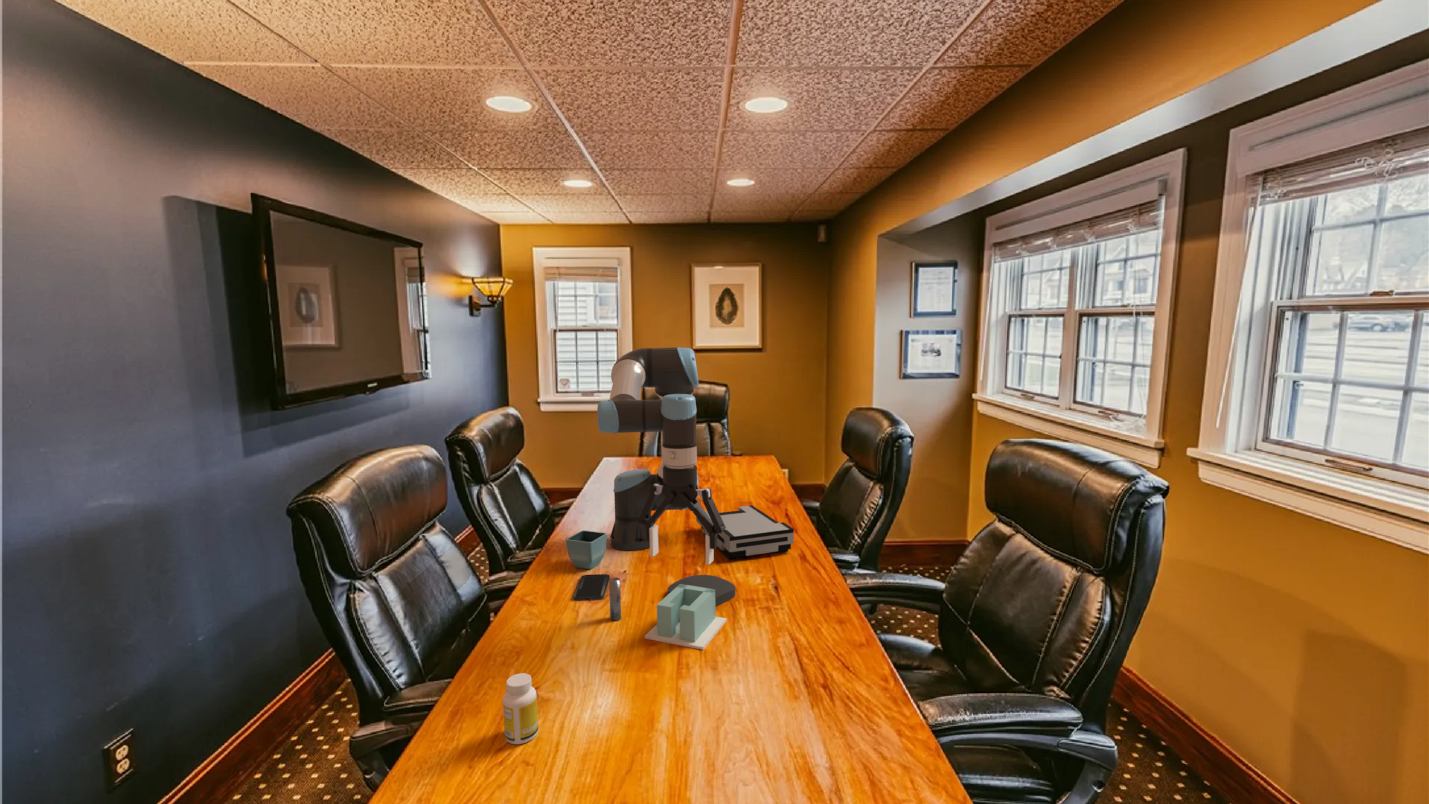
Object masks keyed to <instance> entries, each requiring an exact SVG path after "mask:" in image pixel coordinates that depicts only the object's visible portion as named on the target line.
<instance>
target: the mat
mask: <svg viewBox="0 0 1429 804" xmlns="http://www.w3.org/2000/svg"><path fill="white" fill-rule="evenodd" d="M727 620H728V618H725V617H720V616H717V615H715V619H714V620H713V622H712V623H711V624H710V625H709V626H708V628H707V629H706V630H705V631H704V632H703V633H702V635H701V636H700V637H699V638H698V639H697V640H696V642H690V641H685V640H680V622H679V623H678V624H677V625H676V634H675V635H674V636H673V637H672V638H669V637H664V636H659V635H658V634H657V624H655V625H654V626H653V627H652V628H651V629H650V630H649V631H648V632H647V633H646V634H645V635H644V639H645V640H646V639H647V640H652V641H657V642H662V643H664V644H665V643H666V644H672V645H675V646H681V647H686V648H692V649H697V650H703V651H704V650H705V649H706V648H707V646H708V645H709V643H711V641H712V640H713V638H714V637H715V636H716V635H717V633H718V632H719V631H720V630H721V629H722V628H723V626H724V625H725V624H726V622H727Z"/></svg>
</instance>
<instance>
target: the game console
mask: <svg viewBox="0 0 1429 804" xmlns="http://www.w3.org/2000/svg"><path fill="white" fill-rule="evenodd" d="M704 511H705V512H706V513H707V515H708V516H709V514H708V512H707V510H704ZM719 514H720V516H721V518H722V520H723V522H724V525H725V527H726V528H725V530H724V531H722V532H721V533H717V547H716V549H717V550H719V551H720V552H721V553H722V554H723V555H724V556H725V557H726V559H728V560H729V561H734V560H742V559H747V558H748V559H749V556H753V555H760V554H767V553H768V554H769V555H774V554H775V555H776V554H783V553H789V550H792V544H794V543H795V541H794V540H795V530H794V528H793V527H792V526H791V525H788V524H787V523H786V522H778V521H777V520H776V519H774V518H772V517H771V516H770V515H768V514H766V513H765V512H763V511H762V510H760V509H758V508H757V507H756V506H754V505H752V504H751V505H743V506H738V510H730V511H723V512H719ZM709 517H710V516H709ZM695 518H696V520H695V521H696V522H697V523H698V524H699V525H700V529H701V530H702V533H703V536H704V537H705V538H706V536H705V535H706V534H708V532H707V530H706V529H705V528H704V526H703V525H702V524H701V522H700V521H699V520H698V518H697V517H696V516H695ZM710 519H711V518H710Z"/></svg>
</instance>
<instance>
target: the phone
mask: <svg viewBox="0 0 1429 804" xmlns="http://www.w3.org/2000/svg"><path fill="white" fill-rule="evenodd" d="M609 579H611V578H610V574H608V573H607V574H606V573H602V574H601V573H599V574H583V575H581V576H580V578H579V581H578V584H577V586H576V589H575V591H574V594H573V596H572V597H573V598H572V599H573V601H575V602H582V601H586V602H587V601H602V600H604V599H605V596H606V594H607V589H608V587H609Z"/></svg>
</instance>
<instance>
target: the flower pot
mask: <svg viewBox="0 0 1429 804" xmlns="http://www.w3.org/2000/svg"><path fill="white" fill-rule="evenodd" d="M607 538H608V533H606V532H599V531H591V530H581V531H579V532H577V533H575V534H573V535H572V536H569V537H567V538H566V539H565V543H566V548H567V553H568V556H569V559H570V562H572V564H573V565H574V567H575V568H579V569H586V570H592V569H593V568H594V567H595V568H596V566H598V565H600V564H601V562H602V560H603V558H604V556H605V554H606V548H607V541H608V540H607Z"/></svg>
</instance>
